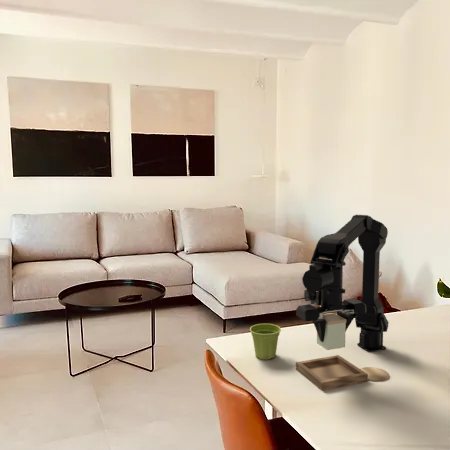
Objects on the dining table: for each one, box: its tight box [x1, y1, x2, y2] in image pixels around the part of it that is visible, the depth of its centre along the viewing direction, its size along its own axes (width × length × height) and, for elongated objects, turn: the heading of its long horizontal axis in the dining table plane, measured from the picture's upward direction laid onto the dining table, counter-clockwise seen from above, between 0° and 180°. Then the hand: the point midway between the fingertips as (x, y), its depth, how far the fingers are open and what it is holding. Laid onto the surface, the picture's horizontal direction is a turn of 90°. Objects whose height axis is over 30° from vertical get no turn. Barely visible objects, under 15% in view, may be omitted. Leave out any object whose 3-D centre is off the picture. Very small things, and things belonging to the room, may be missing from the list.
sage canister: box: [316, 312, 347, 351], centre depth 131 cm, size 6×6×8 cm
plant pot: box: [249, 323, 282, 361], centre depth 146 cm, size 9×9×9 cm
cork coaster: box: [360, 366, 390, 382], centre depth 132 cm, size 8×8×1 cm
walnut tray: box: [295, 354, 369, 391], centre depth 132 cm, size 14×14×2 cm
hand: (331, 339), depth 131 cm, fingers closed on sage canister, 5 cm apart
